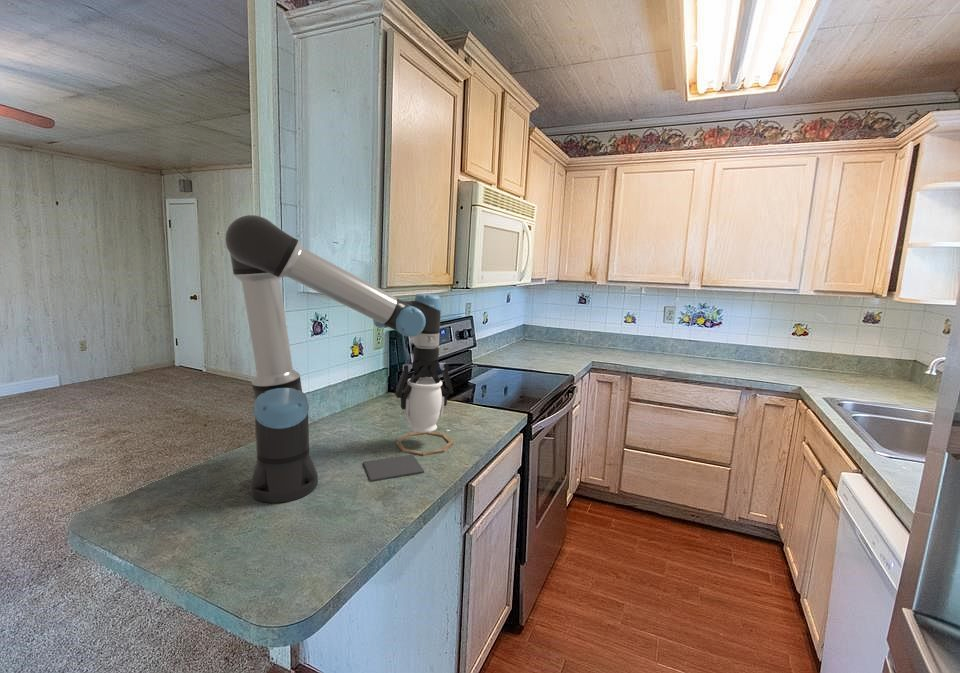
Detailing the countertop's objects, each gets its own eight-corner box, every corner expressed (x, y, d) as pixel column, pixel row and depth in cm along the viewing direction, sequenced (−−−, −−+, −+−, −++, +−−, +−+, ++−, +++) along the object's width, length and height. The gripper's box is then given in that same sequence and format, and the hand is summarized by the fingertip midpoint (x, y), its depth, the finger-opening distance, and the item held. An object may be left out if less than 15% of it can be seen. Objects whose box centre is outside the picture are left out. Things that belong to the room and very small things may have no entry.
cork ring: (405, 458, 129) (405, 456, 129) (392, 436, 144) (392, 435, 144) (459, 450, 136) (459, 448, 136) (441, 430, 151) (441, 429, 151)
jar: (398, 429, 137) (400, 381, 134) (418, 419, 146) (420, 374, 143) (428, 437, 132) (430, 387, 130) (446, 427, 141) (449, 380, 139)
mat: (371, 481, 115) (371, 479, 115) (363, 463, 125) (363, 461, 125) (424, 472, 121) (424, 471, 121) (412, 455, 131) (412, 454, 131)
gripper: (391, 349, 127) (389, 425, 130) (466, 347, 136) (463, 418, 140) (385, 344, 133) (383, 416, 137) (457, 343, 143) (454, 410, 146)
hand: (423, 417), depth 138 cm, fingers closed on jar, 10 cm apart
